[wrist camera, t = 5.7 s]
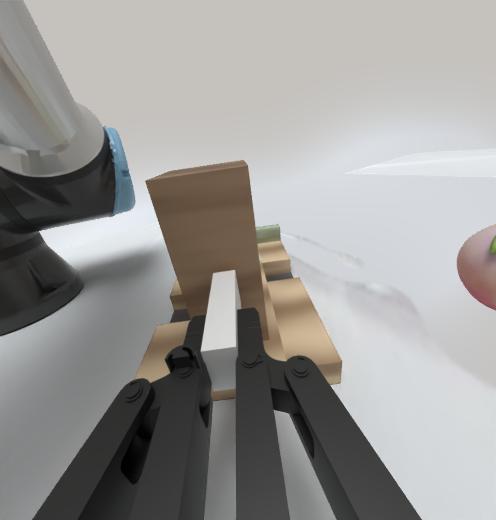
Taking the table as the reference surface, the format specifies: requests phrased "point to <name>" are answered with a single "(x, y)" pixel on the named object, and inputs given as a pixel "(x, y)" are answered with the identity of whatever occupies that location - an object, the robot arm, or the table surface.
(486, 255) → the decorative fruit
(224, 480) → the table surface
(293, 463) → the table surface
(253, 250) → the walnut block
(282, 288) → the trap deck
